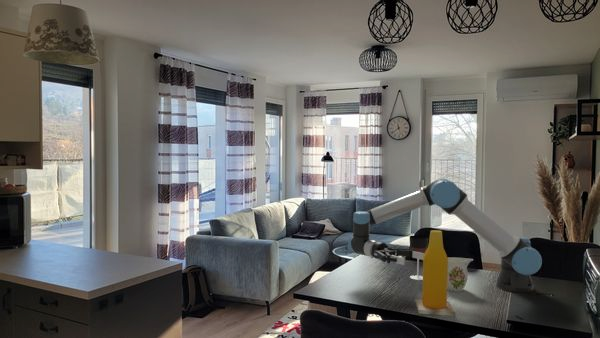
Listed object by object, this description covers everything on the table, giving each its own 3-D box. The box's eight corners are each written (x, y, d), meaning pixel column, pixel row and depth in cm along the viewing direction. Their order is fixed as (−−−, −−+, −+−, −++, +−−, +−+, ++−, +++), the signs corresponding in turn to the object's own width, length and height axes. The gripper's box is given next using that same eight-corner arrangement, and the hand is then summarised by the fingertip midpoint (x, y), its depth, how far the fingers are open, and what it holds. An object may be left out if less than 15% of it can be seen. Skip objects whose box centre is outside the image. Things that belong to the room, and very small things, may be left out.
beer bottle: (420, 307, 165) (422, 232, 164) (423, 300, 173) (424, 228, 172) (446, 310, 161) (448, 234, 160) (447, 303, 170) (449, 230, 169)
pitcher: (428, 284, 199) (429, 255, 199) (468, 286, 198) (469, 256, 198) (434, 292, 188) (435, 261, 188) (476, 293, 187) (477, 262, 187)
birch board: (448, 305, 172) (448, 301, 172) (455, 316, 160) (455, 312, 160) (415, 303, 174) (415, 299, 174) (419, 313, 162) (419, 309, 162)
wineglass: (427, 280, 206) (428, 238, 206) (409, 279, 208) (409, 238, 207) (426, 275, 214) (427, 235, 213) (408, 274, 216) (409, 235, 215)
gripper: (395, 254, 199) (433, 264, 182) (356, 261, 184) (394, 273, 167) (395, 238, 199) (434, 246, 182) (356, 244, 184) (394, 254, 167)
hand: (415, 259), depth 174 cm, fingers open, 13 cm apart
